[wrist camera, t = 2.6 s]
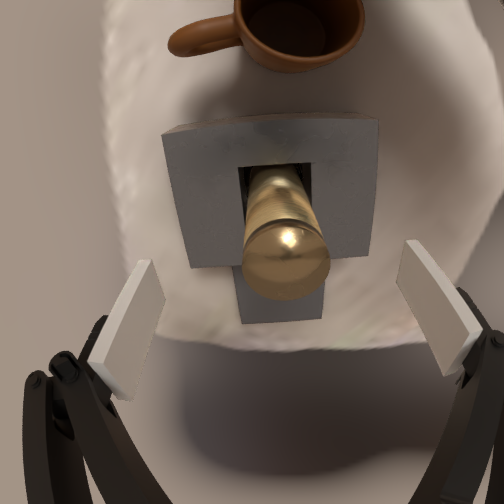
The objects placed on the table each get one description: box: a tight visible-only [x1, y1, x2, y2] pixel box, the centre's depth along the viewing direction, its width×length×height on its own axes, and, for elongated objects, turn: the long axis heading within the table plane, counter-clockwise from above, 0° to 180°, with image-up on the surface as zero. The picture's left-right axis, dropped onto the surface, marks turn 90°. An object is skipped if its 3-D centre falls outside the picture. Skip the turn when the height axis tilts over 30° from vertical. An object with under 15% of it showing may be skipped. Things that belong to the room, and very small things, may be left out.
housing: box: [161, 112, 378, 268], centre depth 24 cm, size 12×16×5 cm
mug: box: [168, 0, 365, 73], centre depth 15 cm, size 12×8×9 cm, turn 105°
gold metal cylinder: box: [242, 163, 330, 301], centre depth 20 cm, size 4×4×14 cm
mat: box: [232, 265, 325, 324], centre depth 32 cm, size 10×10×1 cm
